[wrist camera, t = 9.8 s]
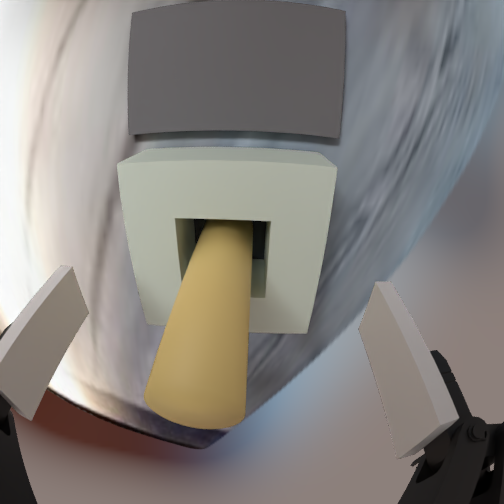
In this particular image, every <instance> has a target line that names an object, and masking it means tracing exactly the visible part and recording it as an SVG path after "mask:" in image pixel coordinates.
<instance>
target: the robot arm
mask: <svg viewBox="0 0 504 504" xmlns="http://www.w3.org/2000/svg"><path fill="white" fill-rule="evenodd" d="M88 314H89V311H88V309H87V306H86V304H85V301H84V298H83V296H82V293H81V290H80V287H79V285H78V282H77V279H76V276H75V273H74V270H73V267H72V266H60V267H59V268H58V269H57V270H56V271H55V272H54V273H53V275H52V276H51V277H50V278H49V279H48V280H47V281H46V283H45V284H44V285H43V286H42V287H41V288H40V289H39V291H38V292H37V293H36V294H35V295H34V297H33V298H32V299H31V300H30V302H29V303H28V304H27V305H26V307H25V308H24V309H23V310H22V312H21V313H20V314H19V315H18V317H17V318H16V319H15V321H14V322H13V323H12V324H10V325H9V326H8V327H7V328H6V329H5V330H4V331H3V333H2V334H1V336H0V504H37V501H36V499H35V496H34V494H33V491H32V488H31V485H30V482H29V479H28V476H27V473H26V470H25V466H24V463H23V459H22V455H21V452H20V447H19V443H18V438H17V433H16V429H15V423H14V417H13V414H12V412H11V411H10V408H11V406H12V407H13V408H14V409H15V410H16V411H17V412H18V413H19V414H20V415H22V416H23V417H25V418H27V419H29V420H31V421H32V418H33V416H34V414H35V412H36V409H37V407H38V405H39V403H40V401H41V399H42V397H43V394H44V392H45V390H46V388H47V386H48V384H49V382H50V380H51V378H52V376H53V375H54V373H55V371H56V369H57V367H58V365H59V363H60V361H61V360H62V358H63V356H64V354H65V352H66V350H67V349H68V347H69V345H70V343H71V342H72V340H73V338H74V337H75V335H76V333H77V332H78V330H79V328H80V327H81V325H82V323H83V322H84V320H85V318H86V317H87V315H88ZM359 332H360V335H361V338H362V341H363V344H364V346H365V350H366V353H367V355H368V359H369V362H370V365H371V368H372V371H373V374H374V377H375V381H376V384H377V387H378V390H379V394H380V397H381V401H382V404H383V408H384V411H385V415H386V418H387V422H388V426H389V430H390V434H391V438H392V442H393V446H394V450H395V454H396V458H397V459H401V458H404V457H408V456H411V455H414V454H416V453H417V452H419V451H420V450H421V449H423V448H424V451H425V454H424V455H422V456H421V457H419V458H418V459H416V460H415V461H414V462H413V463H412V464H411V466H414V465H416V464H417V463H419V464H418V466H417V467H416V471H415V472H414V475H413V476H412V478H411V481H410V482H409V484H408V486H407V488H406V490H405V492H404V494H403V495H402V497H401V499H400V500H399V502H398V504H504V422H503V423H502V424H486V423H485V421H484V420H482V419H481V418H479V417H473V416H472V415H471V413H470V411H469V408H468V406H467V404H466V402H465V399H464V397H463V394H462V392H461V390H460V388H459V385H458V383H457V382H456V381H455V380H456V379H455V377H454V375H453V373H451V369H450V367H449V365H448V363H447V361H446V359H445V358H444V357H443V356H442V355H441V354H440V353H439V352H438V351H437V350H434V351H429V349H428V347H427V345H426V343H425V341H424V339H423V337H422V335H421V333H420V331H419V330H418V328H417V326H416V324H415V322H414V321H413V319H412V317H411V315H410V313H409V311H408V310H407V308H406V306H405V304H404V303H403V301H402V299H401V297H400V296H399V294H398V292H397V291H396V289H395V287H394V286H393V284H392V282H381V281H375V285H374V288H373V290H372V293H371V296H370V299H369V302H368V305H367V308H366V310H365V313H364V316H363V318H362V321H361V324H360V326H359ZM493 463H494V470H492V471H490V465H492V464H493Z"/></svg>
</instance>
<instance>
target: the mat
mask: <svg viewBox="0 0 504 504" xmlns="http://www.w3.org/2000/svg"><path fill="white" fill-rule="evenodd" d="M344 65H345V11H342V10H337V9H332V8H327V7H321V6H315V5H308V4H301V3H292V2H281V1H265V0H219V1H204V2H193V3H184V4H176V5H170V6H163V7H158V8H152V9H147V10H143V11H138V12H134V13H132V19H131V30H130V42H129V59H128V129H129V135H135V134H146V133H159V132H175V131H204V130H235V131H264V132H281V133H294V134H305V135H315V136H324V137H332V138H339V135H340V125H341V113H342V100H343V85H344Z"/></svg>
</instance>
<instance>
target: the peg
mask: <svg viewBox="0 0 504 504" xmlns="http://www.w3.org/2000/svg"><path fill="white" fill-rule="evenodd" d="M252 249H253V222H252V220H227V219H207V220H206V222H205V225H204V227H203V230H202V232H201V235H200V237H199V240H198V242H197V245H196V247H195V250H194V252H193V255H192V257H191V260H190V262H189V265H188V268H187V270H186V273H185V275H184V278H183V281H182V283H181V286H180V289H179V291H178V294H177V297H176V300H175V302H174V305H173V308H172V311H171V313H170V316H169V319H168V322H167V325H166V328H165V331H164V334H163V336H162V339H161V342H160V345H159V348H158V351H157V354H156V357H155V361H154V364H153V367H152V370H151V373H150V376H149V379H148V383H147V386H146V389H145V393H144V400H145V402H146V404H147V405H148V406H149V407H150V408H151V409H152V410H153V411H154V412H155V413H157V414H158V415H160V416H162V417H163V418H165V419H167V420H170V421H172V422H175V423H178V424H181V425H184V426H188V427H193V428H201V429H221V428H227V427H231V426H234V425H236V424H238V423H240V422H241V421H242V420H243V419H244V417H245V408H246V385H247V363H248V340H249V317H250V295H251V272H252Z"/></svg>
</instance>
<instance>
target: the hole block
mask: <svg viewBox="0 0 504 504" xmlns="http://www.w3.org/2000/svg"><path fill="white" fill-rule="evenodd" d="M117 171H118V180H119V189H120V196H121V204H122V211H123V217H124V223H125V229H126V235H127V241H128V246H129V251H130V256H131V261H132V266H133V270H134V275H135V279H136V283H137V288H138V292H139V296H140V300H141V304H142V307H143V311H144V315H145V318H146V322H147V324H150V325H158V326H166V325H167V322H168V319H169V316H170V313H171V311H172V308H173V305H174V302H175V300H176V297H177V294H178V291H179V289H180V286H181V283H182V281H183V278H184V275H185V273H186V270H187V268H188V265H189V262H190V260H191V257H192V255H193V252H194V250H195V247H196V244H195V228H194V219H227V220H254V221H266V237H265V252H264V260H263V259H252V272H251V295H250V317H249V332H251V333H291V334H307V331H308V327H309V322H310V318H311V314H312V310H313V305H314V301H315V296H316V291H317V287H318V282H319V277H320V272H321V267H322V262H323V257H324V251H325V246H326V240H327V235H328V229H329V223H330V217H331V210H332V204H333V197H334V190H335V183H336V175H337V167H336V166H335V165H334V164H333V163H331V162H330V161H329V160H328V159H326V158H325V157H324V156H323V155H322V154H320V153H319V152H311V151H300V150H287V149H272V148H250V147H177V148H156V149H146V150H144V151H142V152H140V153H138V154H136V155H134V156H132V157H130V158H128V159H126V160H124V161H122V162H120V163H118V164H117Z"/></svg>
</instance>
